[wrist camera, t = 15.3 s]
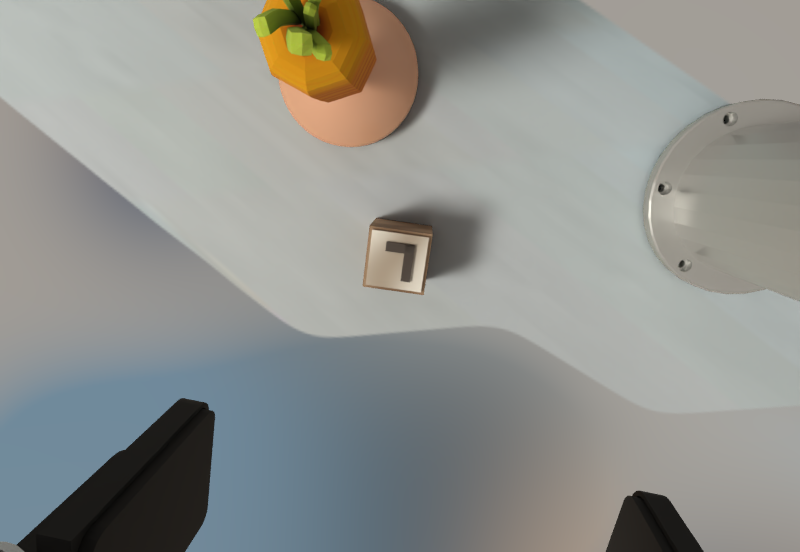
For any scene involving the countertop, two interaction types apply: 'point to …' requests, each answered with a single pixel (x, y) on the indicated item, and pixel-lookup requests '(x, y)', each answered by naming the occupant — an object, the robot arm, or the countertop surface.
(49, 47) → the countertop surface
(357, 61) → the carrot
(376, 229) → the letter cube
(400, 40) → the peach glossy dome
